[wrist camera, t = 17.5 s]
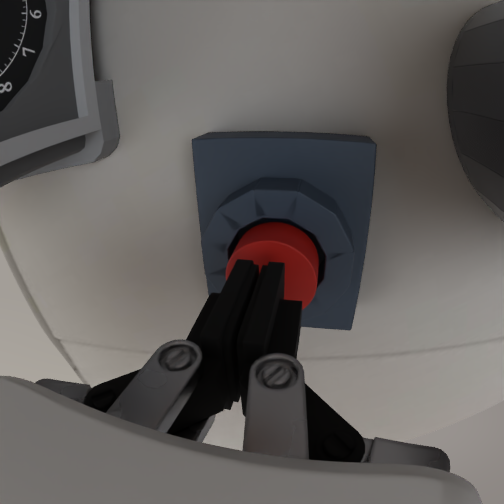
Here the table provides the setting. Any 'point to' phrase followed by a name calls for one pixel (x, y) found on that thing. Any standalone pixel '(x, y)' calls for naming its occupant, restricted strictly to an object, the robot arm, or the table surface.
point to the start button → (282, 257)
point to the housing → (290, 205)
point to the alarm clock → (50, 90)
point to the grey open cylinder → (480, 103)
